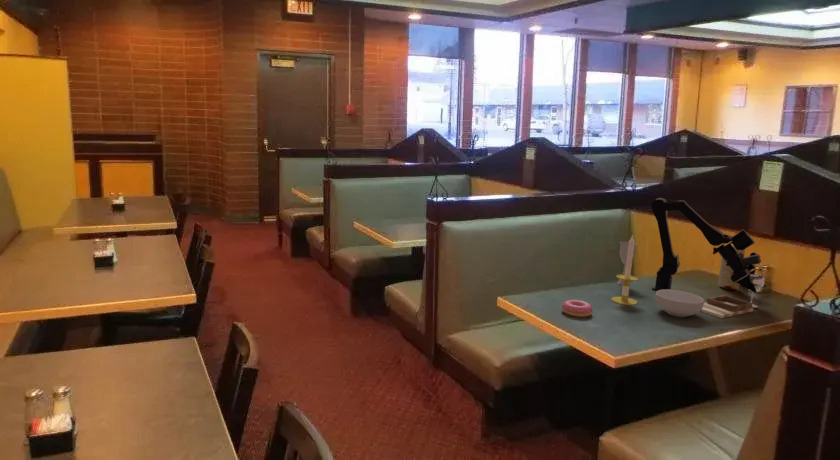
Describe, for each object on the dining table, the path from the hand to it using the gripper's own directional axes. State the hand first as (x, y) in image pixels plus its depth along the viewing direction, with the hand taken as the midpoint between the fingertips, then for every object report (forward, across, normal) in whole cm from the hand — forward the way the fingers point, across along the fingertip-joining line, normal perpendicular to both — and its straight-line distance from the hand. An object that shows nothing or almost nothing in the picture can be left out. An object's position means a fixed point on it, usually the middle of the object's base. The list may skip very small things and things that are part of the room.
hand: (757, 290), depth 249 cm
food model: (-5, +23, +15) cm, 28 cm away
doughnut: (-28, -61, +40) cm, 78 cm away
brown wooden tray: (-1, -13, +12) cm, 18 cm away
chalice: (-30, -7, +41) cm, 51 cm away
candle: (-23, -32, +34) cm, 53 cm away
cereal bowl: (-9, -32, +20) cm, 39 cm away
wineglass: (+4, 0, +6) cm, 7 cm away
